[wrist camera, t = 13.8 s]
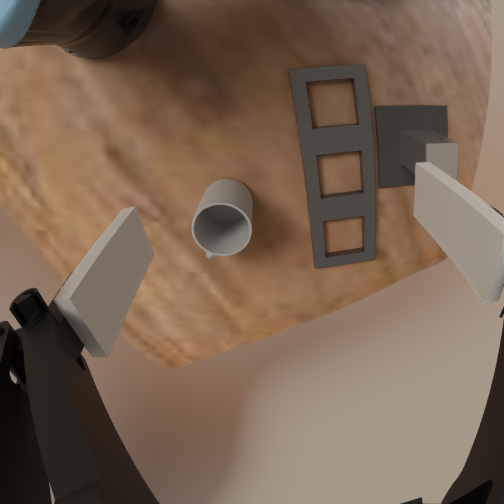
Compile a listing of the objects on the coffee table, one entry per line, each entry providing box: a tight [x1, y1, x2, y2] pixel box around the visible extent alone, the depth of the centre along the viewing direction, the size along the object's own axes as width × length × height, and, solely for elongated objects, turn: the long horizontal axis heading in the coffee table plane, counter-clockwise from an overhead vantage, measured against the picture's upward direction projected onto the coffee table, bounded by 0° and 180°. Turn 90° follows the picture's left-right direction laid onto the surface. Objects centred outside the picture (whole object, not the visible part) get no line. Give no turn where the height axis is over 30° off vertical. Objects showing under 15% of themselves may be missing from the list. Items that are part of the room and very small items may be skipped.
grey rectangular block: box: [399, 129, 458, 180], centre depth 35 cm, size 5×5×8 cm
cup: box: [191, 178, 253, 259], centre depth 41 cm, size 7×10×9 cm
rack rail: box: [288, 65, 376, 269], centre depth 41 cm, size 30×10×1 cm, turn 11°
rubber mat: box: [374, 106, 448, 188], centre depth 38 cm, size 12×12×1 cm
